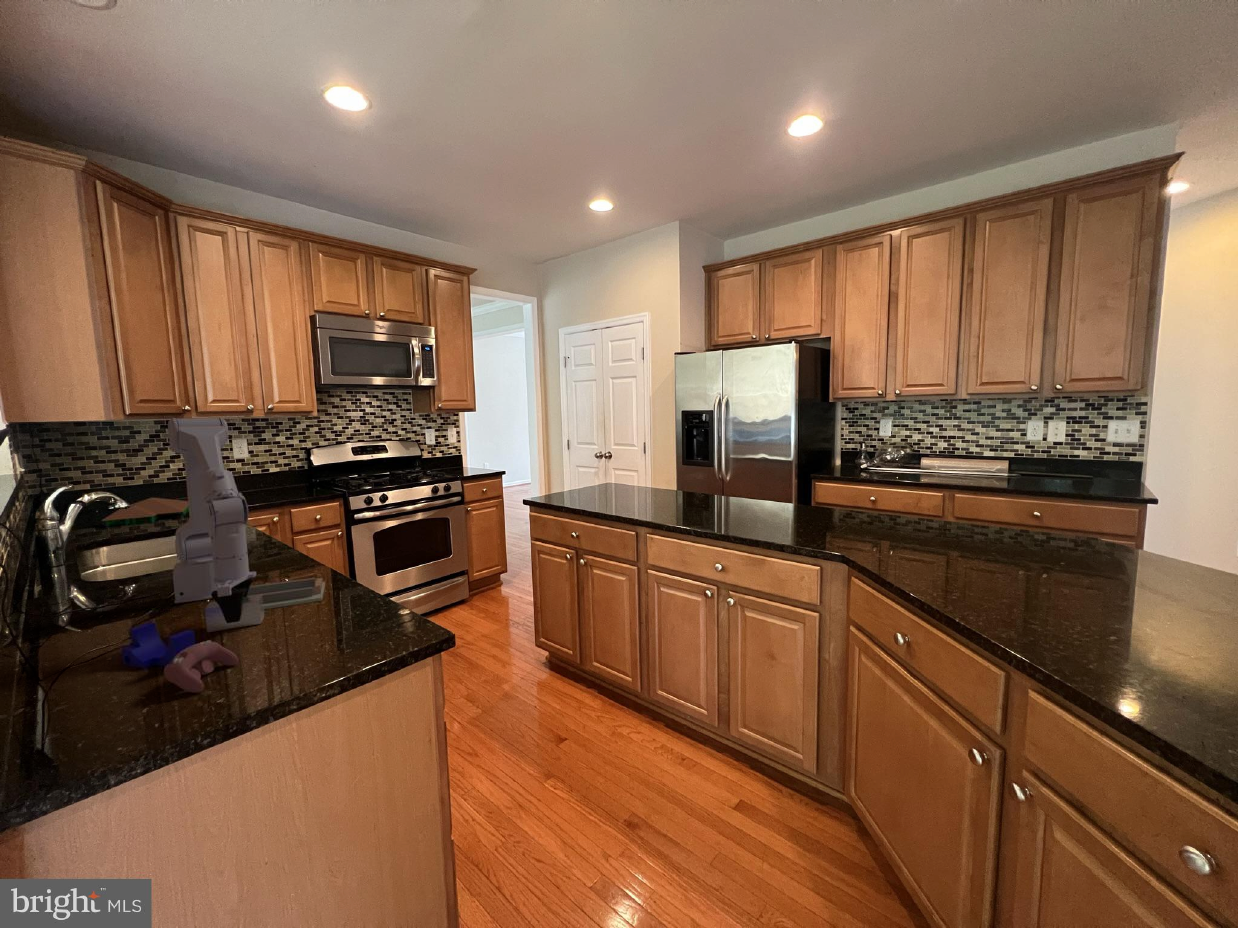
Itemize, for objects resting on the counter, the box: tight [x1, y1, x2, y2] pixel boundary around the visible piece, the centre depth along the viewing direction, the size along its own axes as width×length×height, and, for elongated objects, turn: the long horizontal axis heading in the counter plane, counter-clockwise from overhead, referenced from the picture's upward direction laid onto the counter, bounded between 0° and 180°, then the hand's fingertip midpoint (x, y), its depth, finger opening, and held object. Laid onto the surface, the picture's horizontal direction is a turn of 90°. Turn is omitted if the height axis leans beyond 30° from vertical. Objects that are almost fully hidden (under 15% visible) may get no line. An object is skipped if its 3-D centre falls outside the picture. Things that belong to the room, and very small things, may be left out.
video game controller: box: [163, 640, 239, 694], centre depth 83 cm, size 10×5×7 cm, turn 5°
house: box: [101, 497, 189, 528], centre depth 206 cm, size 23×33×8 cm
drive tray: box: [247, 577, 326, 610], centre depth 118 cm, size 18×12×3 cm, turn 117°
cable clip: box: [121, 621, 196, 670], centre depth 88 cm, size 12×4×6 cm, turn 72°
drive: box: [204, 595, 265, 633], centre depth 104 cm, size 9×4×5 cm, turn 117°
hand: (235, 617), depth 104 cm, fingers closed on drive, 4 cm apart
